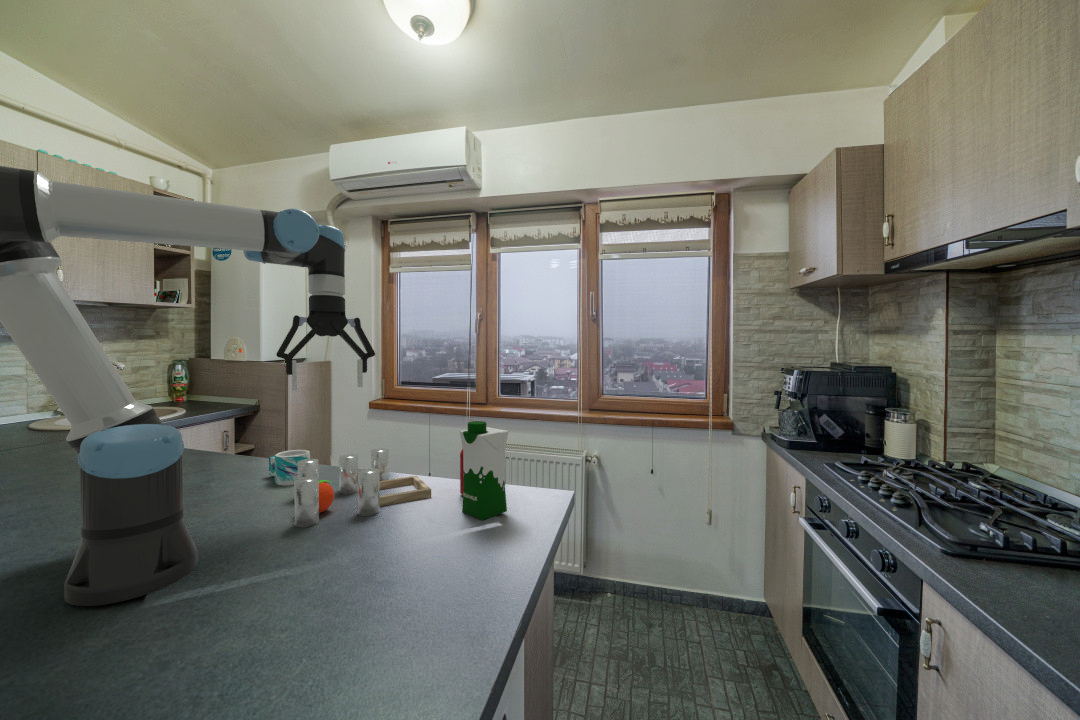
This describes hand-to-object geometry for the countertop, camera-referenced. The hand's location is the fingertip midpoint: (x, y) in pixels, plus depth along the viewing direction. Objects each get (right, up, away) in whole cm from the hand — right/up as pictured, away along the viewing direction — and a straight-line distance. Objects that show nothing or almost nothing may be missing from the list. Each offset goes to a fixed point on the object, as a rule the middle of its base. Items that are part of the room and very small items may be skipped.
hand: (328, 388), depth 99 cm
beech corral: (+13, -27, +7) cm, 31 cm away
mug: (-19, -27, +17) cm, 37 cm away
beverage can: (+32, -27, +7) cm, 43 cm away
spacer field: (+3, -27, +3) cm, 27 cm away
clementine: (0, -27, -4) cm, 28 cm away
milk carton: (+37, -27, -4) cm, 46 cm away
